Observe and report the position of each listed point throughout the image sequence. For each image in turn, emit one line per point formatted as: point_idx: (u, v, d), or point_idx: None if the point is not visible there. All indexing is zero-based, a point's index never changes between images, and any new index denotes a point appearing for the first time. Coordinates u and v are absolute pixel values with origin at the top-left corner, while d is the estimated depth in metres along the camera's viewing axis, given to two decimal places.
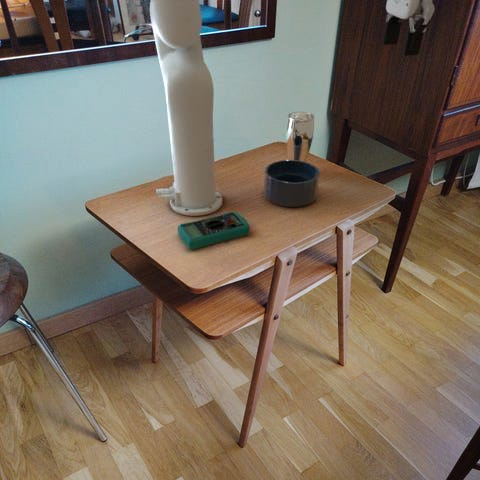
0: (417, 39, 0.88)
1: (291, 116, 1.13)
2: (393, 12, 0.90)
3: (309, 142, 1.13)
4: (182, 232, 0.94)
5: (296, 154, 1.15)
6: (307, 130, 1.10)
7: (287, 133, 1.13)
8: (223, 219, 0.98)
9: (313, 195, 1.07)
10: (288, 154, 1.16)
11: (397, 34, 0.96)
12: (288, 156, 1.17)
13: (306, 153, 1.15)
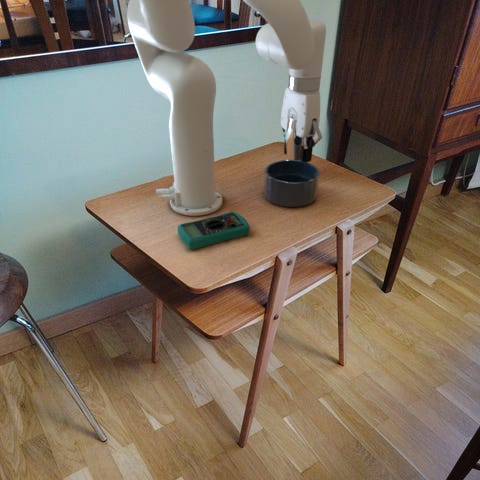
0: (309, 151, 1.14)
1: None
2: None
3: None
4: (182, 232, 0.94)
5: (296, 154, 1.15)
6: None
7: (287, 133, 1.13)
8: (223, 219, 0.98)
9: (313, 195, 1.07)
10: (288, 154, 1.16)
11: None
12: (288, 156, 1.17)
13: None
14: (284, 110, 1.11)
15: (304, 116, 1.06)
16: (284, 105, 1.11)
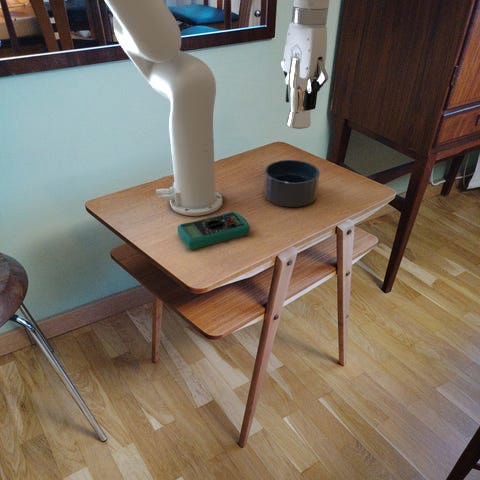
0: (313, 97, 1.04)
1: None
2: None
3: None
4: (182, 232, 0.94)
5: (299, 100, 1.05)
6: None
7: (290, 76, 1.03)
8: (223, 219, 0.98)
9: (313, 195, 1.07)
10: (290, 101, 1.07)
11: None
12: (290, 103, 1.07)
13: None
14: (287, 50, 1.02)
15: (309, 53, 0.97)
16: (287, 44, 1.01)
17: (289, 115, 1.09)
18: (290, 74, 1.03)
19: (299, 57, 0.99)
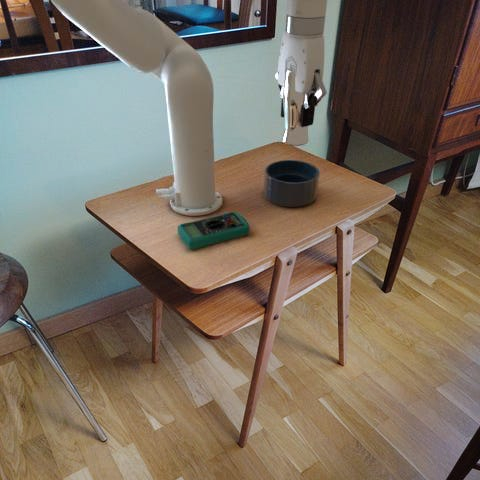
0: (311, 112, 0.95)
1: None
2: None
3: None
4: (182, 232, 0.94)
5: (295, 116, 0.96)
6: None
7: (284, 89, 0.94)
8: (223, 219, 0.98)
9: (313, 195, 1.07)
10: (286, 116, 0.98)
11: None
12: (286, 119, 0.99)
13: None
14: (281, 61, 0.93)
15: (305, 66, 0.88)
16: (281, 55, 0.93)
17: (285, 131, 1.01)
18: (285, 88, 0.94)
19: (294, 70, 0.91)
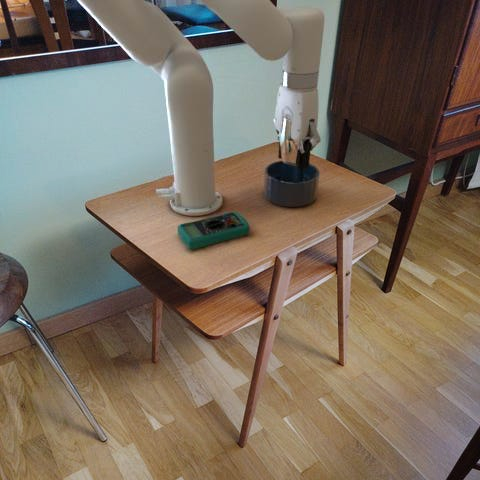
0: (306, 156, 1.01)
1: None
2: None
3: None
4: (182, 232, 0.94)
5: (292, 159, 1.02)
6: None
7: (281, 135, 1.00)
8: (223, 219, 0.98)
9: (313, 195, 1.07)
10: (283, 159, 1.04)
11: None
12: (283, 161, 1.05)
13: None
14: (278, 110, 0.99)
15: (300, 116, 0.94)
16: (278, 104, 0.99)
17: (282, 172, 1.07)
18: (282, 134, 1.00)
19: (290, 119, 0.97)
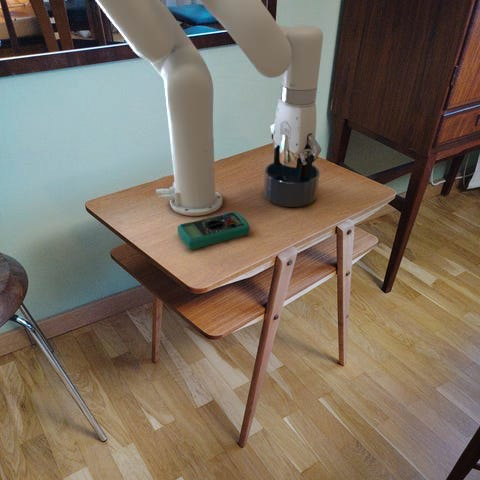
0: (308, 168, 1.02)
1: None
2: None
3: None
4: (182, 232, 0.94)
5: (291, 174, 1.05)
6: None
7: (281, 151, 1.03)
8: (223, 219, 0.98)
9: (313, 195, 1.07)
10: (282, 173, 1.06)
11: None
12: (282, 175, 1.07)
13: None
14: (277, 124, 1.01)
15: (298, 131, 0.96)
16: (277, 118, 1.01)
17: None
18: (281, 149, 1.03)
19: (289, 133, 0.99)
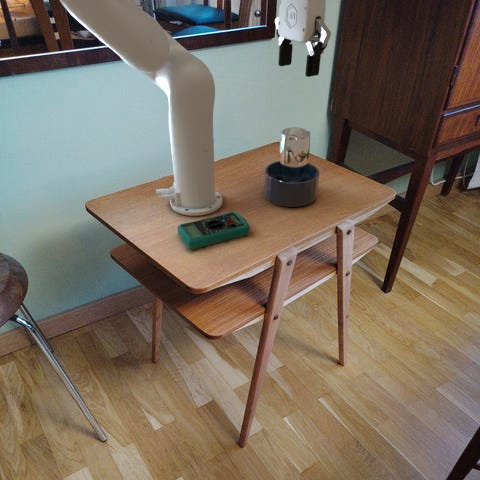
0: (316, 60, 0.92)
1: (285, 132, 1.03)
2: (288, 36, 0.92)
3: (305, 161, 1.03)
4: (182, 232, 0.94)
5: (291, 174, 1.05)
6: (302, 148, 1.01)
7: (281, 151, 1.03)
8: (223, 219, 0.98)
9: (313, 195, 1.07)
10: (282, 173, 1.06)
11: (290, 55, 0.99)
12: (282, 175, 1.07)
13: (302, 172, 1.05)
14: (282, 11, 0.91)
15: (305, 12, 0.86)
16: (282, 4, 0.91)
17: None
18: (281, 149, 1.03)
19: (295, 18, 0.89)
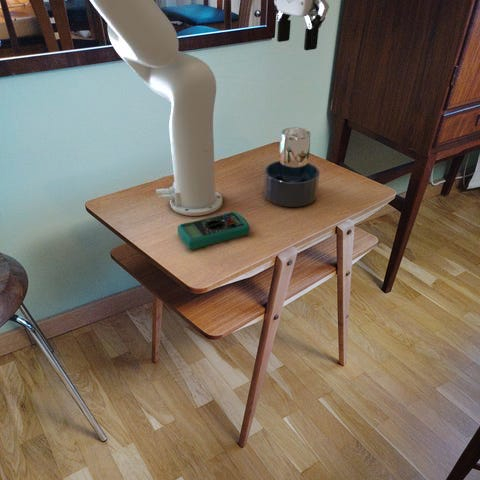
0: (314, 34, 0.95)
1: (285, 132, 1.03)
2: (287, 11, 0.95)
3: (305, 161, 1.03)
4: (182, 232, 0.94)
5: (291, 174, 1.05)
6: (302, 148, 1.01)
7: (281, 151, 1.03)
8: (223, 219, 0.98)
9: (313, 195, 1.07)
10: (282, 173, 1.06)
11: (288, 31, 1.02)
12: (282, 175, 1.07)
13: (302, 172, 1.05)
14: None
15: None
16: None
17: None
18: (281, 149, 1.03)
19: None
